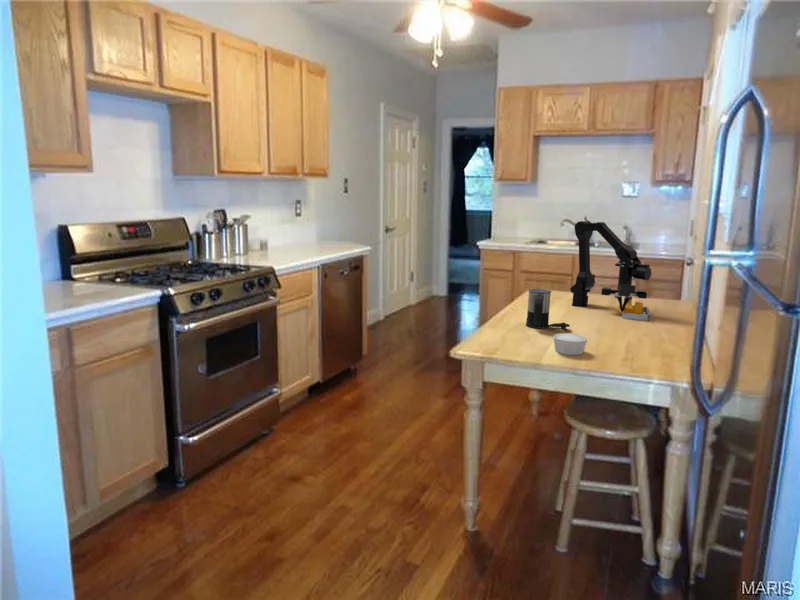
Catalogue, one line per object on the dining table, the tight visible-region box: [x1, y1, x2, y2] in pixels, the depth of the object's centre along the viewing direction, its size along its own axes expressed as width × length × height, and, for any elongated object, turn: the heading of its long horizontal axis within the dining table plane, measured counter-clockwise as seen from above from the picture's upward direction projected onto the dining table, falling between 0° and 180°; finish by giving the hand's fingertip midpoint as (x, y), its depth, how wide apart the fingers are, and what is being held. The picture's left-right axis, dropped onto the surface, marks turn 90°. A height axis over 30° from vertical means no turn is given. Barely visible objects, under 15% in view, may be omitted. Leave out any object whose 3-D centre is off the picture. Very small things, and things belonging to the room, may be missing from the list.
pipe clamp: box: [617, 296, 644, 314], centre depth 264 cm, size 12×4×6 cm, turn 7°
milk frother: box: [525, 287, 571, 330], centre depth 237 cm, size 14×16×15 cm
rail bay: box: [621, 305, 651, 322], centre depth 263 cm, size 11×18×2 cm, turn 160°
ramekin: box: [552, 333, 588, 356], centre depth 206 cm, size 11×11×5 cm
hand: (621, 311), depth 265 cm, fingers closed
